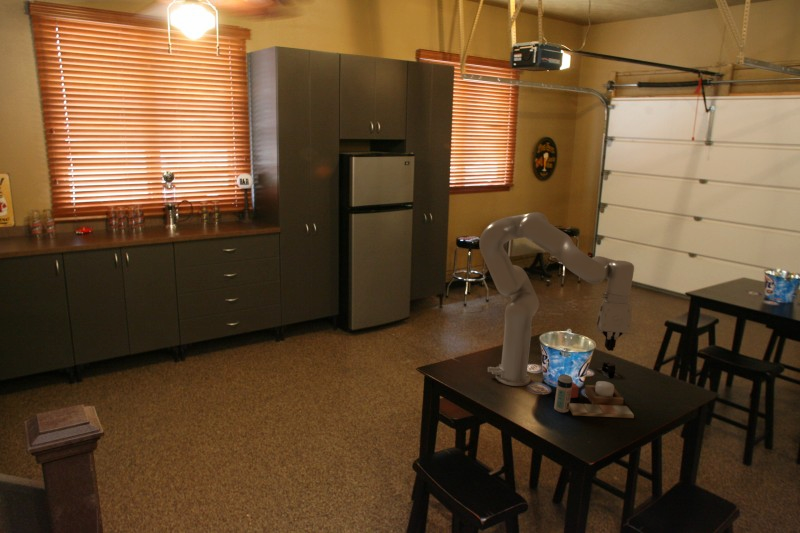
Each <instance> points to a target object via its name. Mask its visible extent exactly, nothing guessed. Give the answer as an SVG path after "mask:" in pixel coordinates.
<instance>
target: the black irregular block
mask: <svg viewBox="0 0 800 533" xmlns="http://www.w3.org/2000/svg"><path fill="white" fill-rule="evenodd" d="M595 371H597V372H599V373H600V374H602V375H603V376H605V377H606V379H609V380H610V379H612V380H613V379H620V378H622V377H621V376H619V374H617V373H615V372H616V364H614V363H613V362H611V361H603V363H602V367H598V368H597V367H596V368H595Z"/></svg>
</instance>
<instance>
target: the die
mask: <svg viewBox="0 0 800 533" xmlns="http://www.w3.org/2000/svg"><path fill="white" fill-rule="evenodd" d="M579 389H580V386H578V385H577V384H576V383H575V382H574V381H573V382H572V390H571V397H570V399H574V398H575V399H576V398H578V397H579Z"/></svg>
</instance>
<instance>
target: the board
mask: <svg viewBox="0 0 800 533" xmlns="http://www.w3.org/2000/svg"><path fill="white" fill-rule="evenodd" d="M569 411H570V412H571V414H572V416H585V417H600V418H601V417H604V418H605V417H606V418H609V417H610V418H624V419H634V418H635V415H634V413H633V412H632V411H631V409H630V408H629V407H628V406H627V405H623V406H619V405H597V404H592V403H573V402H570V404H569Z"/></svg>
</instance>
